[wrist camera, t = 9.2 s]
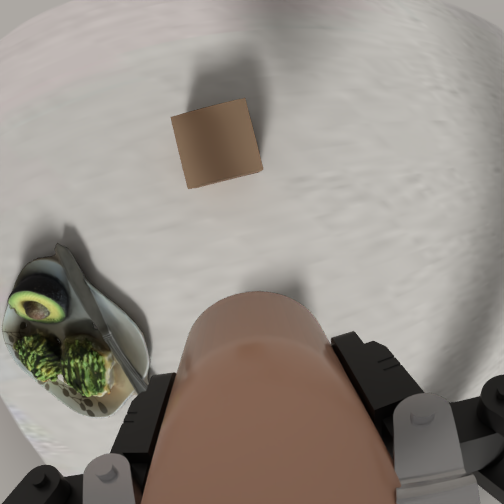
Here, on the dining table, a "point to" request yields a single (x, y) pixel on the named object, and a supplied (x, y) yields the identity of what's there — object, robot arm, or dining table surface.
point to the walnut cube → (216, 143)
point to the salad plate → (74, 337)
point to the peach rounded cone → (266, 415)
